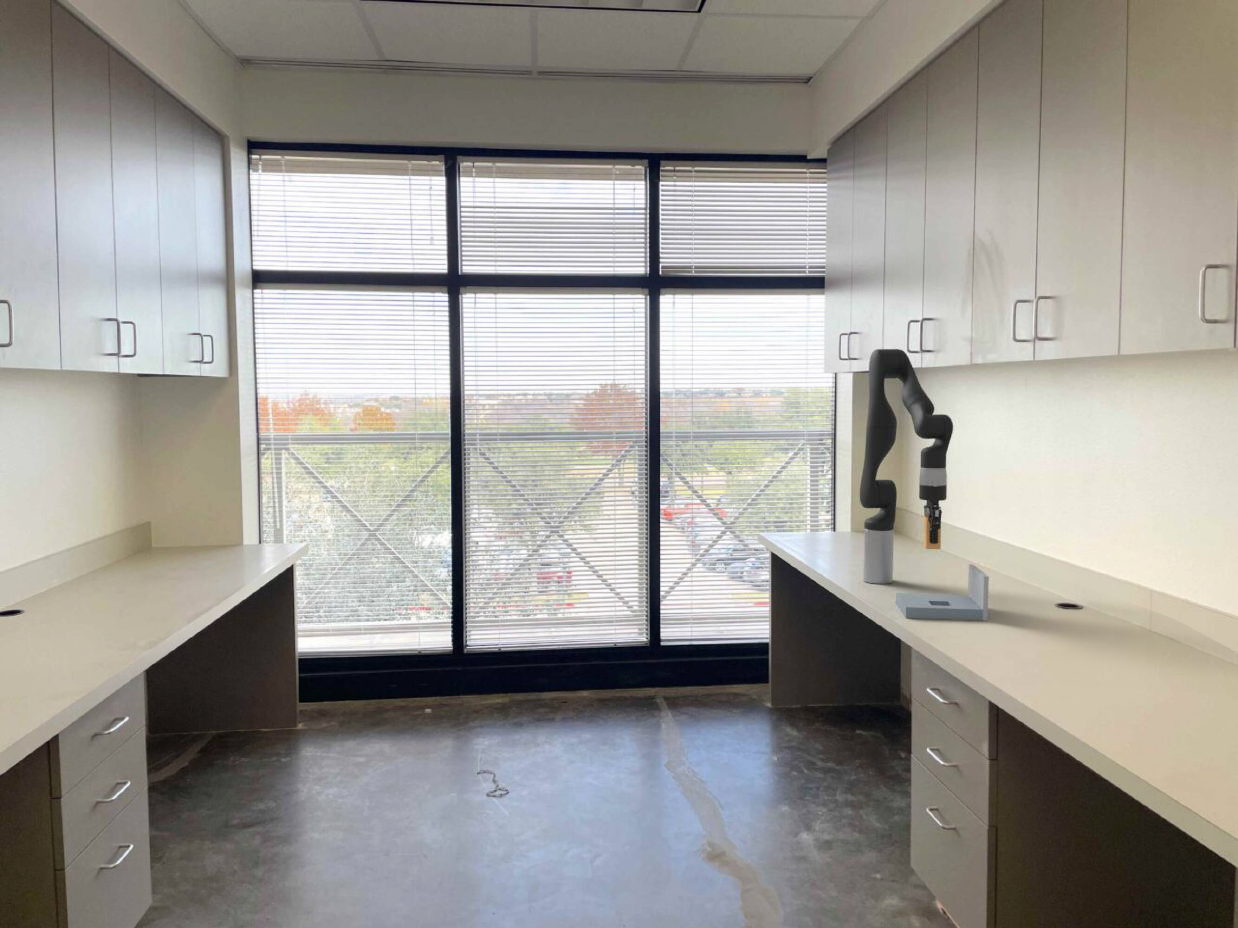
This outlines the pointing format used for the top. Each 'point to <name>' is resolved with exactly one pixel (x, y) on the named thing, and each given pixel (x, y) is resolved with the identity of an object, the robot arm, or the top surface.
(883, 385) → the robot arm
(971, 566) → the grey slotted stand
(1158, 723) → the top surface
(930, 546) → the block
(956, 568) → the top surface
